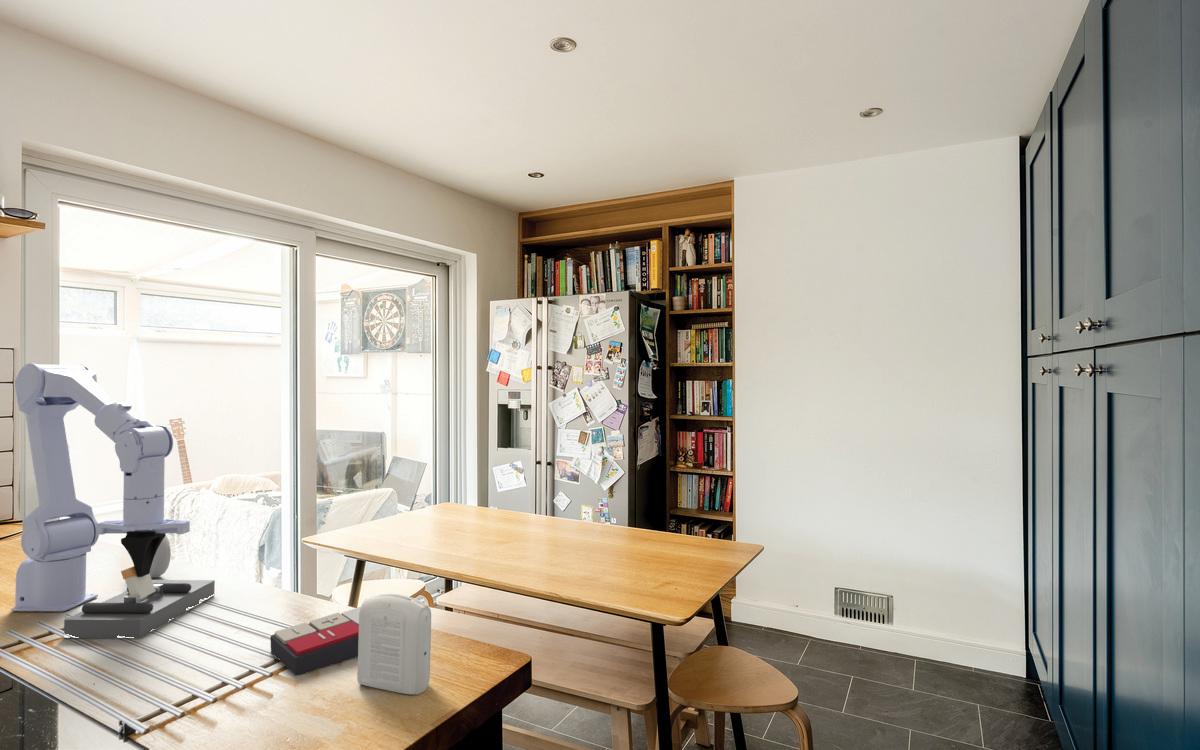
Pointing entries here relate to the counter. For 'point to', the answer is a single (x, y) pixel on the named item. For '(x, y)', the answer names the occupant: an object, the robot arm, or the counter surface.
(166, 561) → the donut
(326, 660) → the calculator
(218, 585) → the counter surface
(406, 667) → the photo printer
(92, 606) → the box
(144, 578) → the lever
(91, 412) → the robot arm
